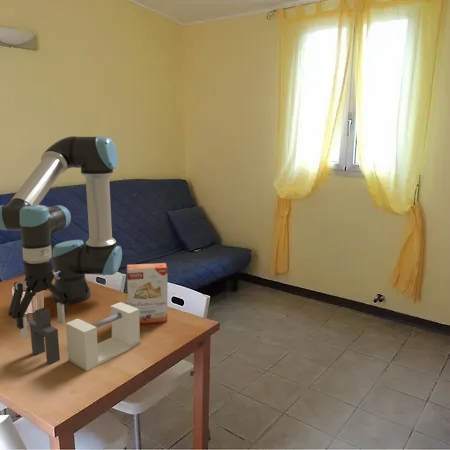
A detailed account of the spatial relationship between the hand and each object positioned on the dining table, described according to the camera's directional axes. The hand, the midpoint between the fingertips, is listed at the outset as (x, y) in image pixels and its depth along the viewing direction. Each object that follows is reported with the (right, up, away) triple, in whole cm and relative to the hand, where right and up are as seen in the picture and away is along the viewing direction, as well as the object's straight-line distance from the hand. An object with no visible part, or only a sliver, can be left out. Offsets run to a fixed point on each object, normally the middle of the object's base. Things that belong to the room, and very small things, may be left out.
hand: (43, 330), depth 123 cm
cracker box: (+26, -4, +27) cm, 38 cm away
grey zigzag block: (0, -8, +2) cm, 9 cm away
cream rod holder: (+17, -8, +5) cm, 19 cm away
